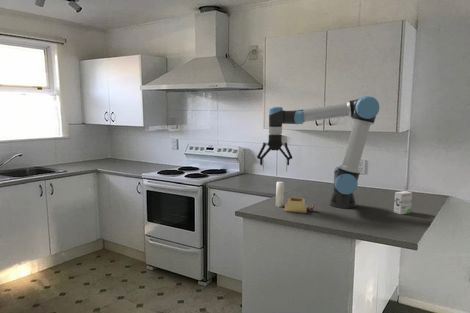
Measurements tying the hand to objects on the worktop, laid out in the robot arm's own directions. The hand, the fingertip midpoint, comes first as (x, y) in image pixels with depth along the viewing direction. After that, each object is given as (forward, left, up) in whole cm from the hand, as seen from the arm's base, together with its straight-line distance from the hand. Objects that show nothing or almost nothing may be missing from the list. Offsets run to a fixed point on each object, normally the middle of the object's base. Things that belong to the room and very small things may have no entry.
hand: (274, 170), depth 215 cm
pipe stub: (-4, 0, -21) cm, 21 cm away
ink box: (-72, -8, -21) cm, 75 cm away
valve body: (-16, +6, -20) cm, 26 cm away
